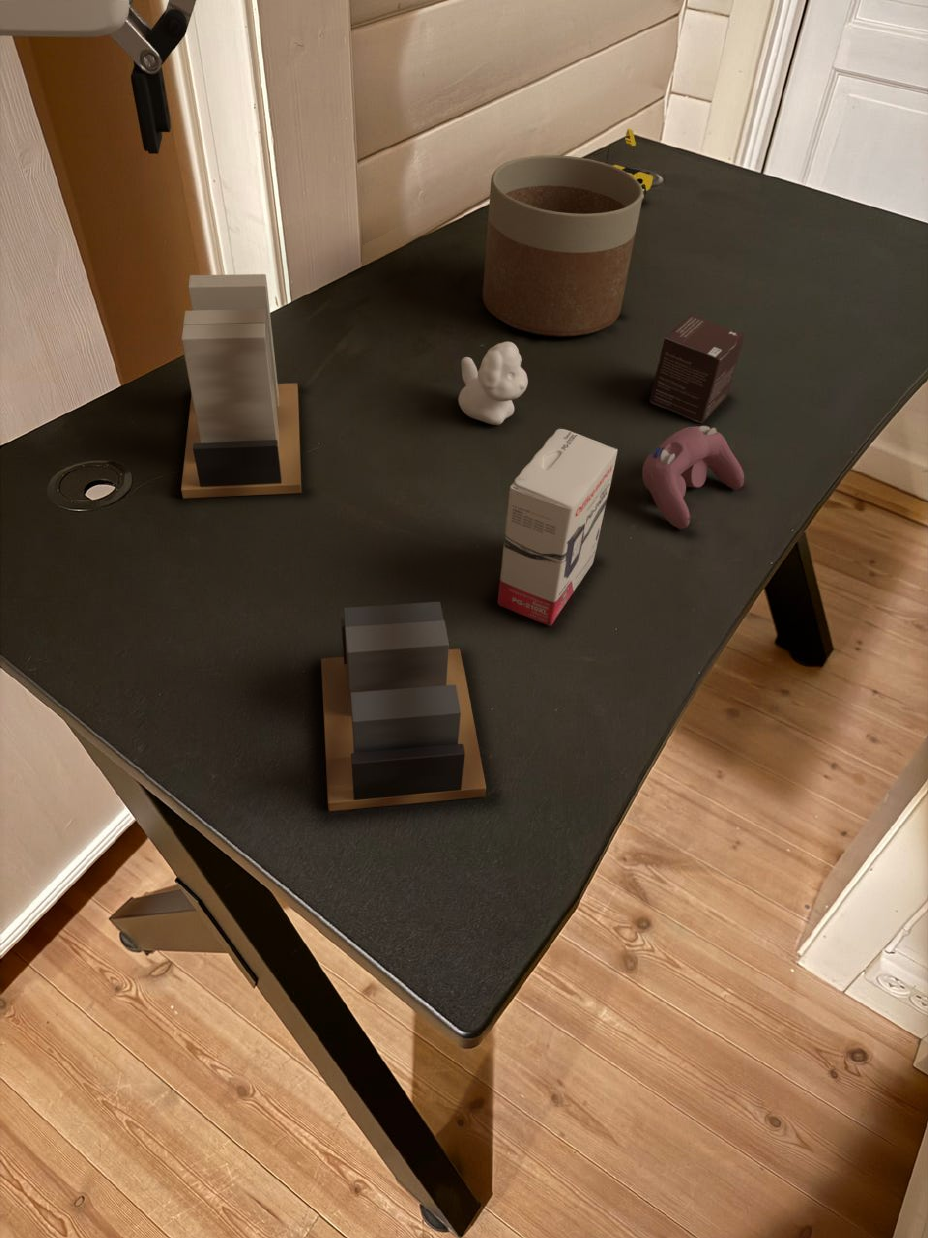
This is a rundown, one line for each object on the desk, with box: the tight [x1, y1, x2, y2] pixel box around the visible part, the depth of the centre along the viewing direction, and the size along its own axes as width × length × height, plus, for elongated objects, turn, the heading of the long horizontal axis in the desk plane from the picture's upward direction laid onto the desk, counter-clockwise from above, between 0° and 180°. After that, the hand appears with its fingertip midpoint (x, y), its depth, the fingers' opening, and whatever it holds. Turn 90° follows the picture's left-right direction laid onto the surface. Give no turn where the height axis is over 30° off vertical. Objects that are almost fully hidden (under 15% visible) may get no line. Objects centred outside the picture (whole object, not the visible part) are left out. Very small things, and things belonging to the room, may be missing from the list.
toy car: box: [605, 128, 654, 204], centre depth 123 cm, size 12×8×8 cm, turn 145°
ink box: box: [497, 428, 618, 627], centre depth 68 cm, size 8×5×12 cm, turn 151°
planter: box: [482, 154, 643, 338], centre depth 99 cm, size 16×16×14 cm
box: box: [649, 314, 746, 424], centre depth 89 cm, size 6×6×7 cm
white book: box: [187, 273, 279, 407], centre depth 81 cm, size 6×2×12 cm, turn 98°
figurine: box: [457, 341, 529, 426], centre depth 85 cm, size 5×8×8 cm
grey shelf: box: [320, 601, 487, 812], centre depth 59 cm, size 10×12×8 cm
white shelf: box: [180, 309, 303, 499], centre depth 78 cm, size 10×16×13 cm, turn 8°
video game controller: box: [641, 425, 745, 530], centre depth 79 cm, size 10×5×7 cm, turn 135°
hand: (65, 144), depth 51 cm, fingers open, 9 cm apart
